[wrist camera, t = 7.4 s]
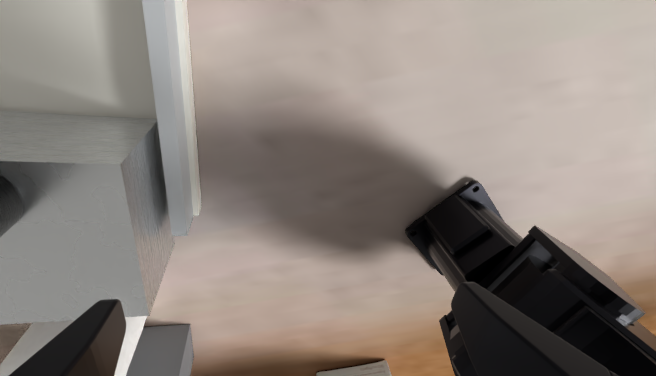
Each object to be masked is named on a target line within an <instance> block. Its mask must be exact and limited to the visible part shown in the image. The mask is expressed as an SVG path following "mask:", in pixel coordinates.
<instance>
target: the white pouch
mask: <svg viewBox="0 0 656 376" xmlns="http://www.w3.org/2000/svg"><path fill="white" fill-rule="evenodd" d="M146 318H147V316H138V317H125V320H126V332H125V336H124V340H123V344H122V348H121V351H120V355H119V359H118V363H117V367H116V371H115V374H114V376H126V374H127V370H128V367H129V365H130V363H131V360H132V357H133V354H134V351H135V349H136V346H137V343H138V340H139V338H140V335H141V333H142V330H143V327H144V324H145V320H146ZM73 321H75V320H70V321H53V322H36V323H32V324H31V325H30V327H29V328H28V329H27V331H26V332H25V333H24V334H23V336H22V337H21V338H20V339H19V341H18V342H17V343H16V345H15V346H14V347H13V349H12V350H11V351H10V353H9V354H8V355H7V356H6V358H5V359H4V360H3V362H2V363H1V364H0V376H9V375H10V374H11V373H12V372H13V371H15V370H16V369H17V368H18V367H19V366H21V365H22V364H23V363H24V362H25V361H27V360H28V359H29V358H30V357H31V356H33V355H34V354H35V353H36V352H37V351H39V350H40V349H41V348H42V347H43V346H45V345H46V344H47V343H48V342H49V341H51V340H52V339H53V338H54V337H55V336H57V335H58V334H59V333H60V332H61V331H63V330H64V329H65V328H66V327H67V326H69V325H70V324H71V323H72V322H73Z"/></svg>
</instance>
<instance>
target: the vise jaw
mask: <svg viewBox="0 0 656 376" xmlns="http://www.w3.org/2000/svg"><path fill="white" fill-rule="evenodd" d="M173 247H174V237H173V236H172V232H171V224H170V216H169V208H168V200H167V192H166V185H165V177H164V169H163V161H162V153H161V145H160V138H159V130H158V122H157V119H146V118H128V117H110V116H92V115H74V114H56V113H38V112H20V111H2V110H0V325H2V324H19V323H36V322H53V321H70V320H76V319H77V318H78V317H79V316H81V315H82V314H83V313H84V312H85V311H87V310H88V309H89V308H90V307H91V306H93V305H94V304H95V303H96V302H98V301H100V300H104V299H119V300H120V301H121V303H122V308H123V312H124V316H125V317H138V316H149V315H150V312H151V310H152V307H153V304H154V301H155V298H156V295H157V292H158V290H159V287H160V284H161V281H162V278H163V275H164V273H165V270H166V267H167V264H168V261H169V258H170V255H171V253H172V250H173Z"/></svg>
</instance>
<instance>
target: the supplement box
mask: <svg viewBox="0 0 656 376" xmlns="http://www.w3.org/2000/svg"><path fill="white" fill-rule="evenodd" d="M316 376H392V375H391V373H390V370H389V366H388V363H387V361H386V360H383V361H380V362H376V363H371V364H366V365H361V366H355V367H349V368H343V369H337V370H331V371H321V372H317V374H316Z"/></svg>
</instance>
